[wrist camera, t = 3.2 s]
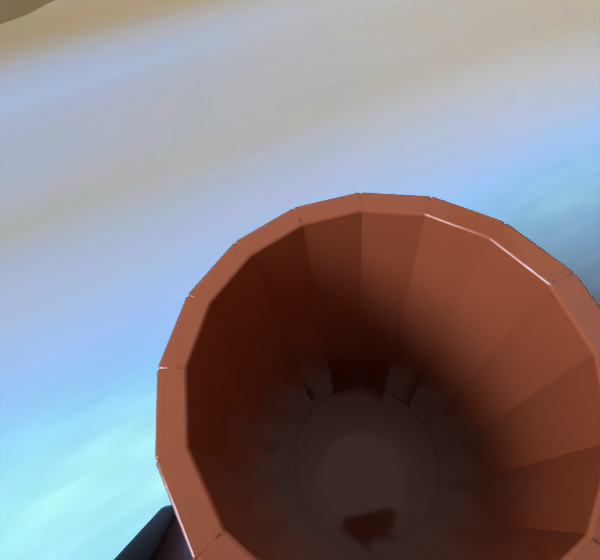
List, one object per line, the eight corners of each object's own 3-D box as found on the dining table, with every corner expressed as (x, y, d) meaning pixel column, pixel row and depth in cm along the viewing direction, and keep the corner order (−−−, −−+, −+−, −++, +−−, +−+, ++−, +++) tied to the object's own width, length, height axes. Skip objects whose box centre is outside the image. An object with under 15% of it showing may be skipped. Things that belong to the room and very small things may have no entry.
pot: (400, 605, 13) (564, 937, 3) (254, 485, 16) (62, 432, 6) (473, 436, 16) (696, 287, 5) (336, 356, 19) (311, 153, 8)
